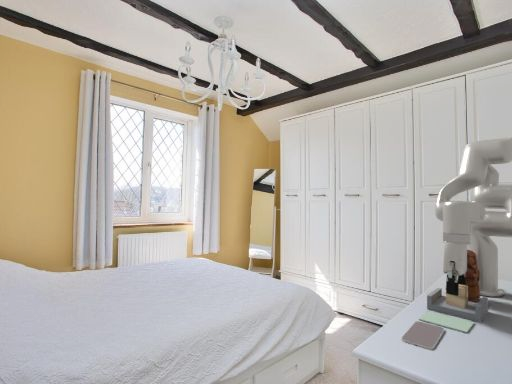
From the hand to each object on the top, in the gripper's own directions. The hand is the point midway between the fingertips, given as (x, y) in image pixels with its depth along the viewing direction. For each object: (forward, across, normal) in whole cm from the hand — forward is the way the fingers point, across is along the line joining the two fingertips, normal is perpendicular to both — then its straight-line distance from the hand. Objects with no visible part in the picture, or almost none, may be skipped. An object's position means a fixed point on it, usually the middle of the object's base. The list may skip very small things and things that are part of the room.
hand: (456, 291), depth 96 cm
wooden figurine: (+6, -16, 0) cm, 17 cm away
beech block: (+4, -1, 0) cm, 4 cm away
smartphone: (+7, +26, -2) cm, 27 cm away
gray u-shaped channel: (+6, -1, 0) cm, 6 cm away
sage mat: (+6, +12, 0) cm, 14 cm away
